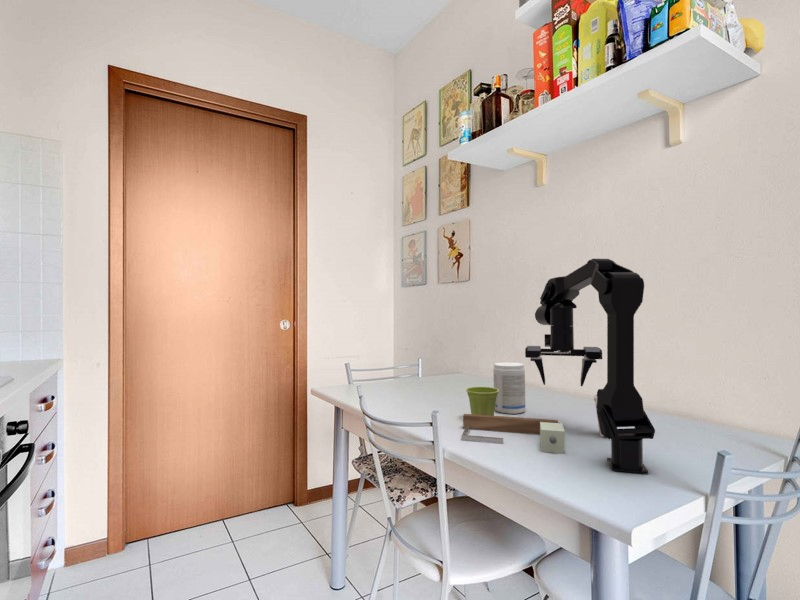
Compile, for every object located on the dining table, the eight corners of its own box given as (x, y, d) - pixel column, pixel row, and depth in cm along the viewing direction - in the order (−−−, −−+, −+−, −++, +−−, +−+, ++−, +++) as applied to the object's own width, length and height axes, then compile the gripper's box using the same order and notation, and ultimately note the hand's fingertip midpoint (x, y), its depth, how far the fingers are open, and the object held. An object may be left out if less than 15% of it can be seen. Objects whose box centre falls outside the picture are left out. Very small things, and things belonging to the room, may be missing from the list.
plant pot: (482, 425, 121) (482, 394, 121) (459, 418, 129) (459, 388, 129) (506, 420, 126) (505, 390, 126) (482, 414, 134) (482, 385, 134)
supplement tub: (531, 411, 138) (531, 363, 138) (514, 416, 131) (514, 366, 131) (504, 406, 145) (504, 361, 145) (487, 410, 138) (487, 363, 138)
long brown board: (558, 435, 111) (558, 422, 111) (463, 428, 118) (463, 415, 118) (557, 433, 113) (557, 420, 113) (464, 426, 120) (464, 413, 120)
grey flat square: (503, 443, 105) (503, 439, 105) (461, 439, 108) (461, 435, 108) (505, 432, 114) (505, 428, 114) (466, 429, 117) (466, 425, 117)
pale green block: (565, 455, 97) (564, 432, 98) (541, 453, 99) (541, 430, 99) (562, 444, 105) (562, 423, 105) (540, 442, 106) (540, 421, 106)
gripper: (596, 325, 121) (597, 382, 121) (525, 325, 127) (526, 379, 126) (602, 326, 111) (603, 388, 110) (524, 326, 116) (525, 385, 116)
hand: (562, 385), depth 116 cm, fingers open, 9 cm apart
